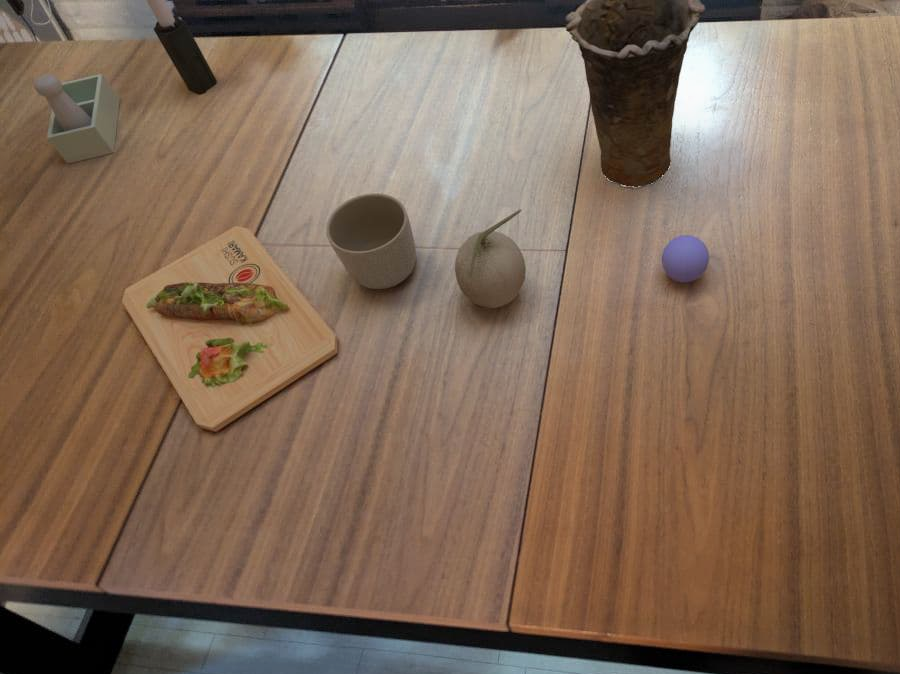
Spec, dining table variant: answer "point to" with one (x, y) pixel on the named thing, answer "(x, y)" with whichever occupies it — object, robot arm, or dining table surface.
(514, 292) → the fruit
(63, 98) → the salt shaker
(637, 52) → the vase
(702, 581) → the dining table surface
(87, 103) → the box
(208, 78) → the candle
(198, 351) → the cutting board
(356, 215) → the planter
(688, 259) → the sphere
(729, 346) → the dining table surface
